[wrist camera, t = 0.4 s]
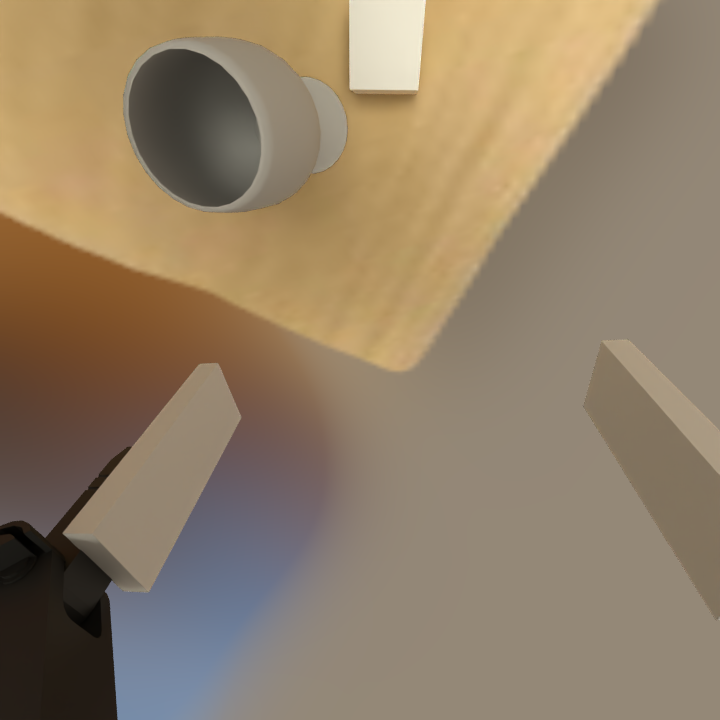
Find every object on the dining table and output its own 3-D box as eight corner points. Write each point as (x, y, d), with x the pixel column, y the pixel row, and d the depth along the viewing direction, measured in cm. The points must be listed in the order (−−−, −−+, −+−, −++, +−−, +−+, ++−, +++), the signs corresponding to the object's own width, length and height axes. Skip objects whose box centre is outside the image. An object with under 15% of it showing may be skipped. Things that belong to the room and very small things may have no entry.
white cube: (357, 13, 28) (349, -6, 24) (422, 12, 27) (426, -7, 23) (356, 93, 30) (349, 89, 26) (416, 94, 30) (418, 90, 26)
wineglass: (343, 66, 29) (258, -12, 12) (354, 170, 34) (303, 223, 16) (256, 81, 31) (63, 27, 13) (277, 180, 35) (151, 238, 17)
